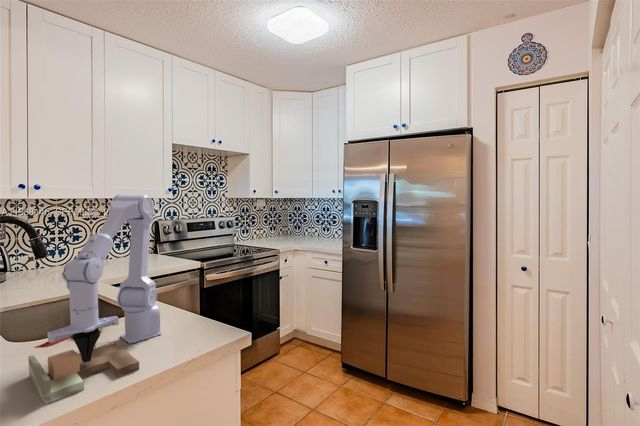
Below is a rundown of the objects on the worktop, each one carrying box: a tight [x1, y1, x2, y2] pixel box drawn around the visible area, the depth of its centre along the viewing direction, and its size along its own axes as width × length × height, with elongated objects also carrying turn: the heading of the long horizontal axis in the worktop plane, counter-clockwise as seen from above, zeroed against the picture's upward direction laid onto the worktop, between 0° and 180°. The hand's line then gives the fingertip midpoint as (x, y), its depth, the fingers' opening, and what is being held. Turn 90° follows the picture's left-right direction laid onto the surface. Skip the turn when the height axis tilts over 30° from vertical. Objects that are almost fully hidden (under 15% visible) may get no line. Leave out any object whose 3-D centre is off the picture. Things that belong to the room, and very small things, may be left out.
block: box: [47, 349, 80, 380], centre depth 82 cm, size 5×4×4 cm
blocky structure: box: [27, 342, 140, 405], centre depth 85 cm, size 19×16×5 cm
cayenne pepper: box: [33, 336, 72, 348], centre depth 103 cm, size 12×5×2 cm, turn 131°
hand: (86, 360), depth 86 cm, fingers closed
